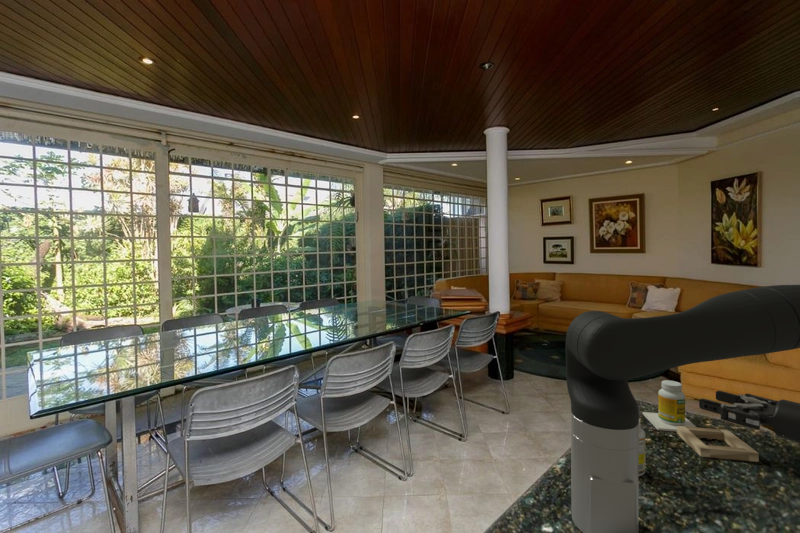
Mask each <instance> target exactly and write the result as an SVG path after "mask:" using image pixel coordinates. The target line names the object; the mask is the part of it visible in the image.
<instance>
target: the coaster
mask: <svg viewBox="0 0 800 533" xmlns="http://www.w3.org/2000/svg"><path fill="white" fill-rule="evenodd" d="M642 415H643V416H644V417H645V418H646V419H647V421H648V422H649V423H651V425H653V427H655V429H656V430H657V431H664V432H665V431H667V432H675V433H677V426H676V425H670V424H667V423H664V422H662V421H661V420H660V419H659V417H658V412H645V411H643V412H642ZM680 426H685V427H697V426H696V425H695V424H694V423H692V422H691V421H690V420H689V419H688V418H687V417H685V424H684V425H680Z"/></svg>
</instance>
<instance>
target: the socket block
mask: <svg viewBox="0 0 800 533" xmlns="http://www.w3.org/2000/svg"><path fill="white" fill-rule="evenodd" d="M676 435H678V436H679V437H680V438H681V439H682V441H684V442H685V443H686V444H687V445H688V446H689V447H690V448H691V449H692V450H693V451H694V452H695V453H696V454H697V455H698V456H699V457H702V458H703V457H704V458H712V459H713V458H714V459H722V460H723V459H725V460H734V461H744V462H746V461H747V462H753V463H754V462H755V463H759V462H760V459H759V456H760V453H759V452H758V451H756V449H754V448H753V447H751V446H750V445H748V444H747V443H746V442H744V441H743V440H742V439H740V438H739V437H738V436H736V435H735V434H733V432H731V431H730V430H728V429H722V428H710V427H698V426H696V427H685V426H677V432H676ZM701 438H707V439H706V440H712V439H717V440H716V441H724V443H725V444H727V445H729V446H721V445H711V444H705V443H704V442H703V441H702V440H701Z"/></svg>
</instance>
